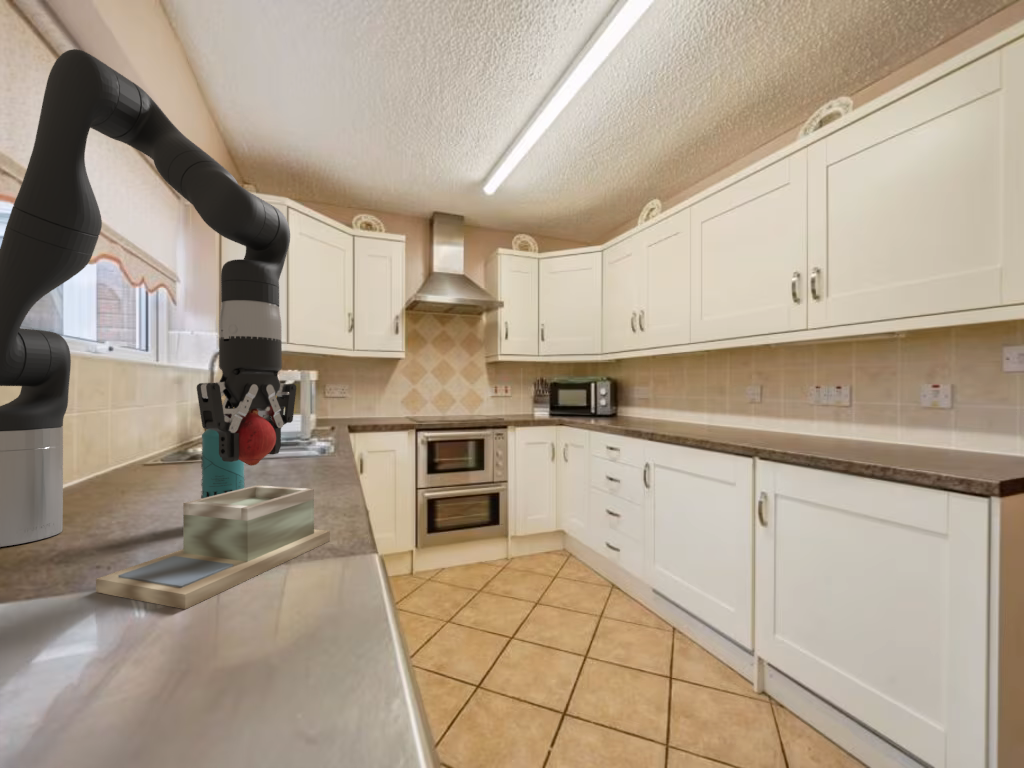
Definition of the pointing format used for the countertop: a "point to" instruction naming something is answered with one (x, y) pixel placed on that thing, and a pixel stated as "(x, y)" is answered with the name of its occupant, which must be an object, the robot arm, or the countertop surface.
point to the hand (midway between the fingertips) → (251, 456)
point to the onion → (255, 438)
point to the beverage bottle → (218, 468)
